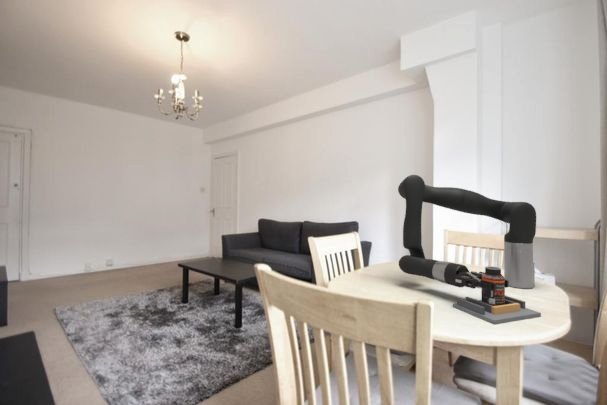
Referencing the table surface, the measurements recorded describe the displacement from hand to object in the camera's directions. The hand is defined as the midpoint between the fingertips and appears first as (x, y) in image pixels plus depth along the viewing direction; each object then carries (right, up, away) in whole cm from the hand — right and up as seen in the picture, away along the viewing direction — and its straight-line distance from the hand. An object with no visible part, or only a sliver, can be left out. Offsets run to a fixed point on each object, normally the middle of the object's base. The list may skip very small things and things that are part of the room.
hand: (501, 285), depth 86 cm
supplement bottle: (-1, -7, +2) cm, 7 cm away
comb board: (-1, -8, +2) cm, 8 cm away
